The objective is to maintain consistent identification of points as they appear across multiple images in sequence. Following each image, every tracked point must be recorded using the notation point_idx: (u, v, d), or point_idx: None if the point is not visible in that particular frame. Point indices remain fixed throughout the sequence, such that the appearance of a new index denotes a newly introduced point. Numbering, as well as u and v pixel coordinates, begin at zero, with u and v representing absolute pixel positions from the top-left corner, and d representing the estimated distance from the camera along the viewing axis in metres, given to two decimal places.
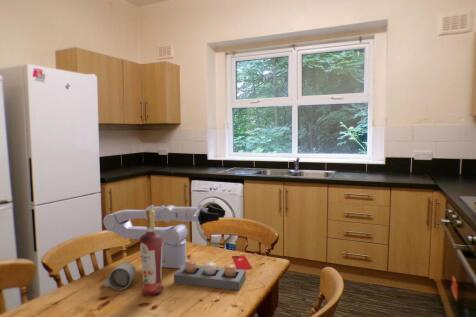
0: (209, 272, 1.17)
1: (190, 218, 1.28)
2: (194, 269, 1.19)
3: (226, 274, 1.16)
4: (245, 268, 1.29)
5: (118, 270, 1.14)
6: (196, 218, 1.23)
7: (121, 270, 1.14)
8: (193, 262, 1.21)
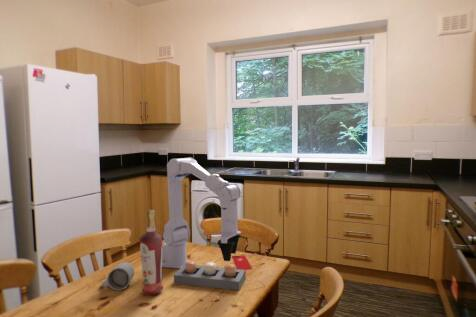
0: (209, 272, 1.17)
1: (224, 225, 1.14)
2: (194, 269, 1.19)
3: (226, 274, 1.16)
4: (245, 268, 1.29)
5: (117, 270, 1.13)
6: (224, 242, 1.09)
7: (120, 270, 1.14)
8: (193, 262, 1.21)
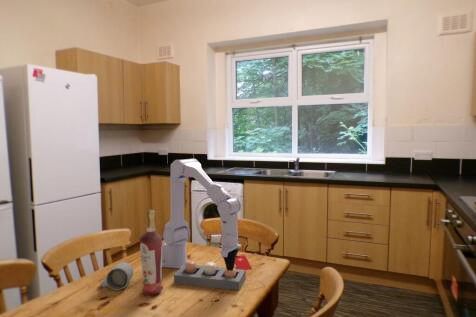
0: (209, 272, 1.17)
1: (224, 238, 1.14)
2: (194, 269, 1.19)
3: None
4: (245, 268, 1.29)
5: (116, 270, 1.13)
6: (224, 256, 1.09)
7: (119, 270, 1.14)
8: (193, 262, 1.21)
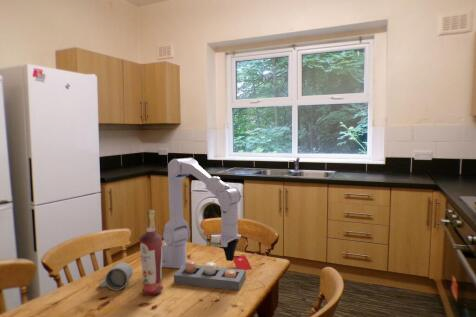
0: (209, 272, 1.17)
1: (224, 228, 1.14)
2: (194, 269, 1.19)
3: None
4: (245, 268, 1.29)
5: (115, 270, 1.13)
6: (224, 245, 1.09)
7: (118, 270, 1.14)
8: (193, 262, 1.21)
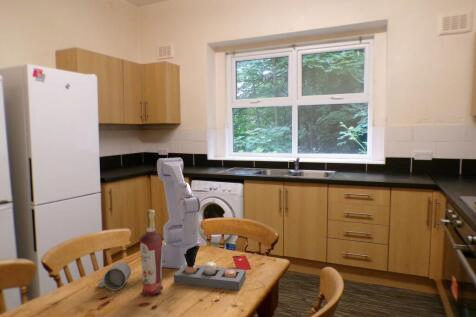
0: (209, 272, 1.17)
1: (184, 235, 1.18)
2: (194, 273, 1.20)
3: None
4: (244, 268, 1.29)
5: (113, 270, 1.13)
6: (182, 252, 1.13)
7: (116, 270, 1.14)
8: (193, 266, 1.21)
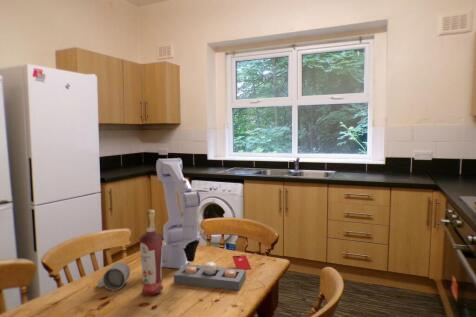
0: (209, 272, 1.17)
1: (184, 230, 1.17)
2: None
3: None
4: (244, 268, 1.29)
5: (112, 270, 1.13)
6: (182, 247, 1.13)
7: (115, 270, 1.14)
8: (193, 268, 1.21)
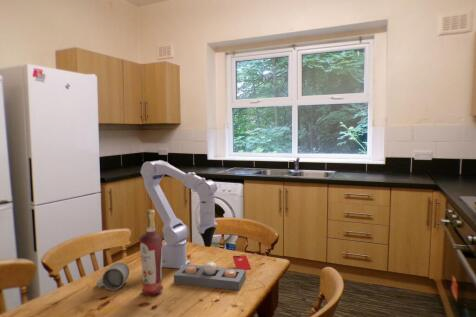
0: (209, 272, 1.17)
1: (202, 217, 1.25)
2: None
3: None
4: (244, 268, 1.29)
5: (112, 270, 1.13)
6: (201, 232, 1.21)
7: (115, 270, 1.14)
8: (193, 268, 1.21)
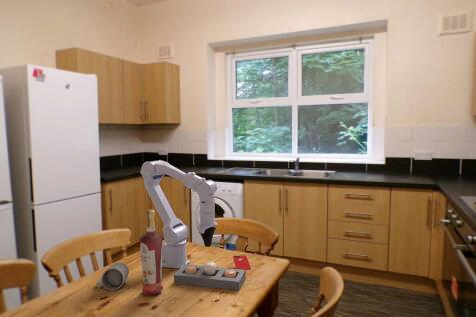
0: (209, 272, 1.17)
1: (202, 217, 1.25)
2: None
3: None
4: (244, 268, 1.29)
5: (111, 270, 1.13)
6: (201, 232, 1.21)
7: (114, 270, 1.14)
8: (193, 268, 1.21)
